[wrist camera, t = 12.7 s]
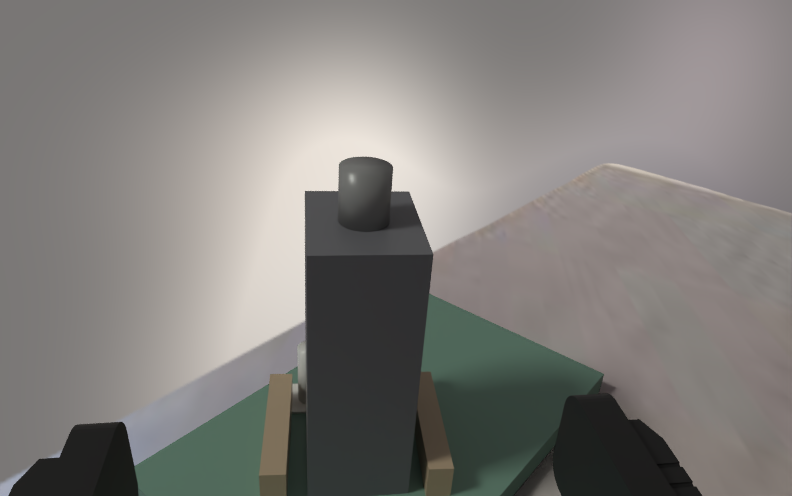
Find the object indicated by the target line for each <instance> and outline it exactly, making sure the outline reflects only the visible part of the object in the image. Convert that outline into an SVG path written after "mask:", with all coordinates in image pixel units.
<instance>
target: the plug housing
mask: <svg viewBox="0 0 792 496" xmlns="http://www.w3.org/2000/svg"><path fill="white" fill-rule="evenodd" d="M392 174H393V166H392V165H391V164H390V163H389V162H387V161H385V160H382V159H378V158H373V157H353V158H348V159H345V160H343V161H341V163H340V164H339V189H338V190H339V191H305V293H306V294H305V296H306V297H305V306H306V308H305V310H306V311H305V313H306V314H305V316H306V441H307V496H377V495H392V494H406V493H408V489H409V480H410V470H411V461H412V451H413V442H414V432H415V423H416V413H417V404H418V394H419V385H420V375H421V366H422V356H423V347H424V337H425V328H426V318H427V309H428V300H429V290H430V281H431V271H432V262H433V252H432V250H431V247H430V245H429V242H428V240H427V237H426V234H425V232H424V229H423V227H422V224H421V222H420V219H419V216H418V214H417V211H416V209H415V206H414V203H413V201H412V198H411V196H410V193H409V192H391V189H392Z"/></svg>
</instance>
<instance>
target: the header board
mask: <svg viewBox="0 0 792 496" xmlns="http://www.w3.org/2000/svg"><path fill="white" fill-rule="evenodd" d="M603 376H604V374H603V373H600V372H598V371H596V370H594V369H592V368H590V367H587V366H585V365H583V364H581V363H579V362H576V361H574V360H572V359H570V358H568V357H566V356H563V355H561V354H559V353H557V352H555V351H553V350H550V349H548V348H546V347H544V346H542V345H540V344H537V343H535V342H533V341H531V340H529V339H526V338H524V337H522V336H520V335H518V334H516V333H513V332H511V331H509V330H507V329H505V328H503V327H500V326H498V325H496V324H494V323H492V322H489V321H487V320H485V319H483V318H481V317H479V316H476V315H474V314H472V313H470V312H468V311H466V310H463V309H461V308H459V307H457V306H455V305H452V304H450V303H448V302H446V301H444V300H442V299H439V298H437V297H435V296H433V295H431V294H429V300H428V309H427V318H426V328H425V337H424V347H423V356H422V366H421V375H420V385H419V394H418V404H417V413H416V423H415V432H414V442H413V451H412V461H411V470H410V480H409V489H408V493H406V494H392V495H377V496H513V495H514V494H515V493H516V492H517V490H518V489H519V488H520V487H521V486H522V484H523V483H524V482H525V481H526V480H527V478H528V477H529V476H530V475H531V474H532V472H533V471H534V470H535V469H536V468H537V466H538V465H539V464H540V463H541V461H542V460H543V459H544V458H545V457H546V455H547V454H548V453H549V452H550V451H551V449H552V448H553V447H554V446H555V444H556V439H557V435H558V430H559V426H560V422H561V417H562V413H563V408H564V404H565V401H566V399H567V398H568V397H569V396H572V395H587V394H598V393H599V391H600V387H601V383H602V379H603ZM134 467H135V472H136V477H137V482H138V493H139V496H307V441H306V341H304V342H301V343H300V344H299V345H298V366H297V367H296V368H294V369H292V370H291V371H289V372H288V373H286V374H270V382H269V384H268V385H266V386H265V387H263V388H262V389H260V390H258V391H257V392H255V393H253V394H252V395H250V396H248V397H247V398H245V399H244V400H242V401H240V402H239V403H237V404H235V405H234V406H232V407H231V408H229V409H227V410H226V411H224V412H222V413H221V414H219V415H218V416H216V417H214V418H213V419H211V420H209V421H208V422H206V423H204V424H203V425H201V426H200V427H198V428H196V429H195V430H193V431H191V432H190V433H188V434H187V435H185V436H183V437H182V438H180V439H178V440H177V441H175V442H174V443H172V444H170V445H169V446H167V447H165V448H164V449H162V450H160V451H159V452H157V453H156V454H154V455H152V456H151V457H149V458H147V459H146V460H144V461H143V462H141V463H139V464H138V465H136V466H134Z"/></svg>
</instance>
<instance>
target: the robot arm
mask: <svg viewBox="0 0 792 496" xmlns="http://www.w3.org/2000/svg"><path fill="white" fill-rule="evenodd" d="M553 469H554V475H555V480H556V483H557V486H558V489H559V491H560V493H561V495H562V496H702V495H701V493H700V492H699V490H698V489H697V487H694V486H693V484H692V482H693V481H692V480H691V479H690V477H689V476H688V474H687V473H686V471H685V470H684V468H683V467H680V465H679V461H678V460H677V458H676V457H675V455H674V454H673V452H672V451H671V449H670V448H669V446H668V445H667V444H666V442H665V441H664V439H663V438H662V437H660V436H659V435H658V434H657V433H655V432H654V431H653V430H652V429H650V428H649V427H648V426H647V425H646V424H644V423H643V422H642V421H641V420H639V419H637V420H628V419H627V417H626V416H625V414H624V413H623V411H622V410H621V408H620V406H619V405H618V403H617V402H616V400H615V399H614V398H613V397H612V396H611V395H610V394H607V393H604V394H587V395H572V396H569V397H568V398H567V399H566V401H565V404H564V408H563V413H562V417H561V422H560V426H559V430H558V435H557V439H556V444H555V448H554V453H553ZM9 496H139V493H138V482H137V477H136V472H135V467H134V463H133V458H132V453H131V449H130V444H129V439H128V434H127V430H126V427H125V424H124V423H123V422H112V423H96V424H80V425H75V426H74V427H73V429H72V430H71V432H70V434H69V437H68V439H67V441H66V444H65V446H64V448H63V450H62V453H61V455H60V458H47V459H39V460H38V461H37V462H36V463H35V464H34V465H33V466H32V467H31V468H30V469H29V470H28V471H27V472H26V473H25V474H24V475H23V476H22V477H21V478H20V479H19V480H18V481H17V482H16V483H15V484H14V485H13V487H12V489H11V492H10V494H9Z"/></svg>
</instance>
